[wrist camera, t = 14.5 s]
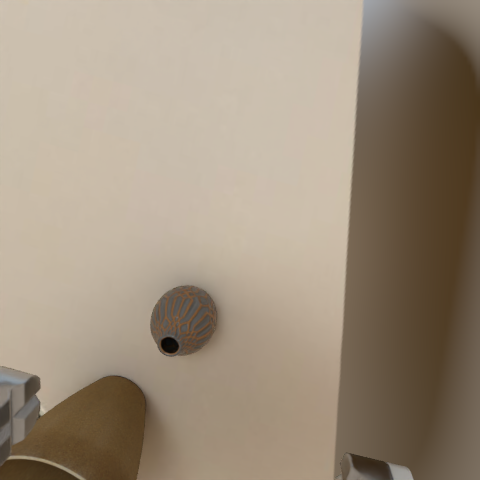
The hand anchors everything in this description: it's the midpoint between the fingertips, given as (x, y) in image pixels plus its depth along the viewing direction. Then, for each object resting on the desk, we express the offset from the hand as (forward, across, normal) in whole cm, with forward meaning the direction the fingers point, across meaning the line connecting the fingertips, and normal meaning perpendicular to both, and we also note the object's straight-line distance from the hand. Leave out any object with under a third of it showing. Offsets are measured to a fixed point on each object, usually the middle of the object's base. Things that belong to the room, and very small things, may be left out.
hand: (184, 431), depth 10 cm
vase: (+31, +6, +14) cm, 35 cm away
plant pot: (+31, +14, +30) cm, 45 cm away
